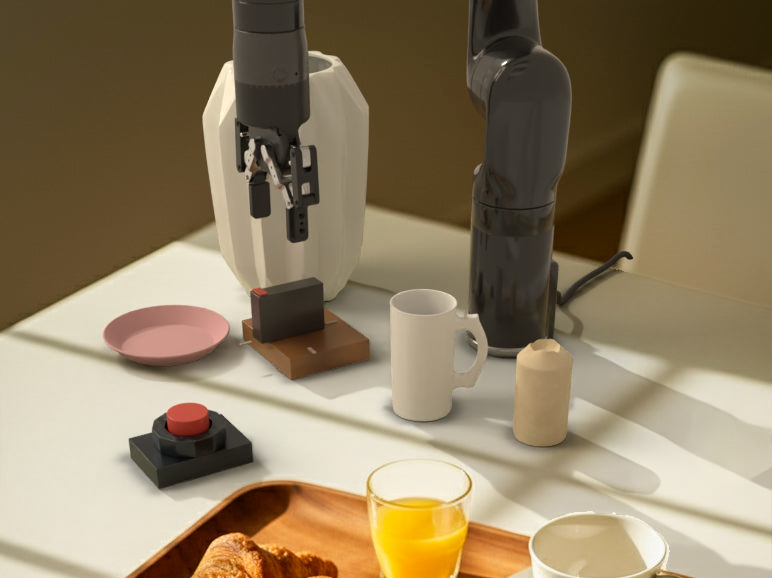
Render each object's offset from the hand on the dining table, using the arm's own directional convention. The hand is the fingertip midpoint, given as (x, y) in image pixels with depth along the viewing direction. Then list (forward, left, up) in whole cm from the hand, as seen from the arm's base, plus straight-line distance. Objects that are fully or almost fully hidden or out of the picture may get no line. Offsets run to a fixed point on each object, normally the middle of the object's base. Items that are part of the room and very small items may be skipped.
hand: (278, 228), depth 144 cm
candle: (-14, +30, -15) cm, 36 cm away
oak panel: (-1, 0, -15) cm, 15 cm away
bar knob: (-1, 0, -12) cm, 12 cm away
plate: (+10, -9, -15) cm, 21 cm away
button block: (+19, +16, -15) cm, 29 cm away
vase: (-10, -16, -15) cm, 25 cm away
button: (+19, +16, -12) cm, 27 cm away
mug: (-8, +20, -15) cm, 26 cm away
